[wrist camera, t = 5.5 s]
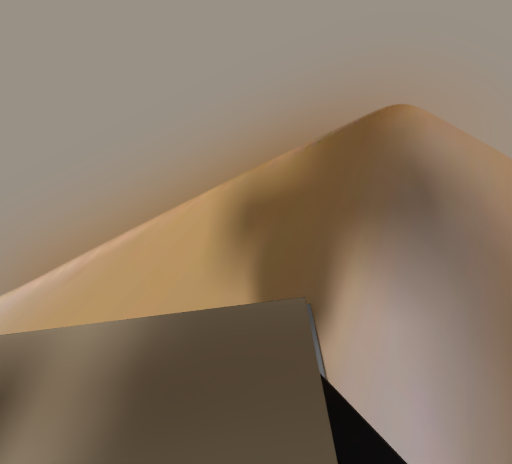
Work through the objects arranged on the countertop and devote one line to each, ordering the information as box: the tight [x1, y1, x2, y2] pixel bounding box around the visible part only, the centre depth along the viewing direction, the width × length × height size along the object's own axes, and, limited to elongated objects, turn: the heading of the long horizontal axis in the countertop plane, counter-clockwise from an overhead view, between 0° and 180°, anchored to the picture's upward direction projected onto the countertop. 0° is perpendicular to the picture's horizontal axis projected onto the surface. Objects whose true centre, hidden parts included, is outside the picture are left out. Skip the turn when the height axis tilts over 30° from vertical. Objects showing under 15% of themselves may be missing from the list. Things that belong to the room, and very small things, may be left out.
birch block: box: [0, 297, 338, 464], centre depth 7 cm, size 5×5×10 cm
